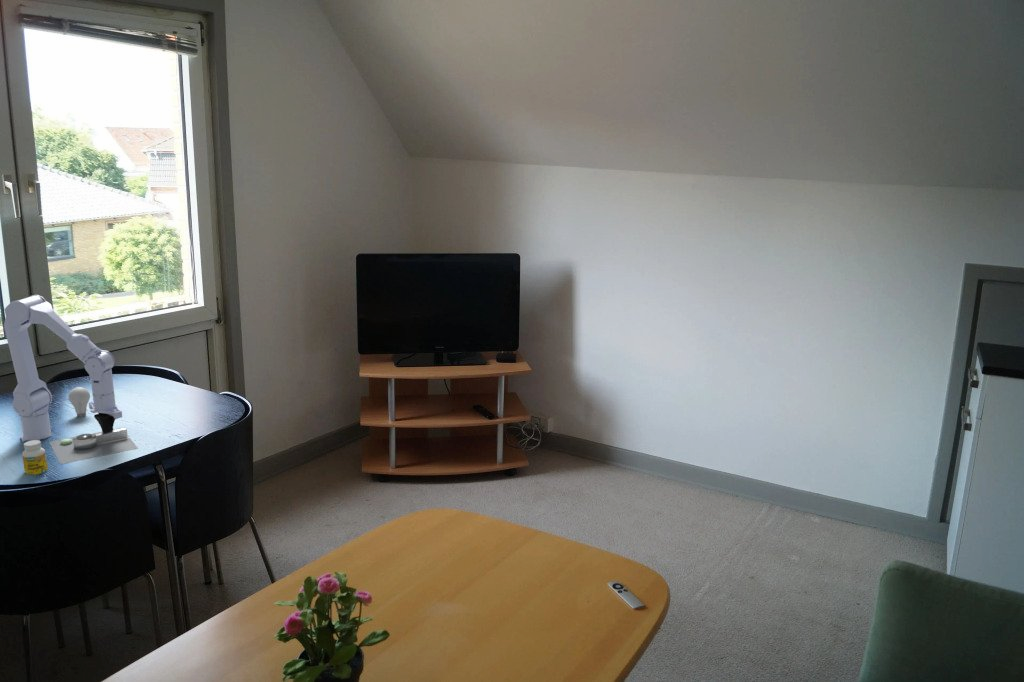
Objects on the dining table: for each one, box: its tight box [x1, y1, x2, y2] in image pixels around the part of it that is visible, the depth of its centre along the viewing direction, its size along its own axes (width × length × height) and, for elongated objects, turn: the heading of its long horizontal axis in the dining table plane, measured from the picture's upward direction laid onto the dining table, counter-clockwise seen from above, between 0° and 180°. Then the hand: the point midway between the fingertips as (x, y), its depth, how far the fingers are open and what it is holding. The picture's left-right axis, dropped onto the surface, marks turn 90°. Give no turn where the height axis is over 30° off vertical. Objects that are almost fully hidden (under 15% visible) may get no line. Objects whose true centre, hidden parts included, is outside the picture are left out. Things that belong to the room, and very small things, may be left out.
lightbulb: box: [67, 386, 91, 418], centre depth 256 cm, size 6×6×11 cm
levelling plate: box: [48, 427, 139, 465], centre depth 233 cm, size 20×20×2 cm
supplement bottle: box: [22, 440, 49, 476], centre depth 215 cm, size 5×5×10 cm
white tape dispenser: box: [73, 427, 129, 450], centre depth 235 cm, size 14×6×3 cm, turn 134°
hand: (108, 435), depth 238 cm, fingers closed, pressing on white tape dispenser
